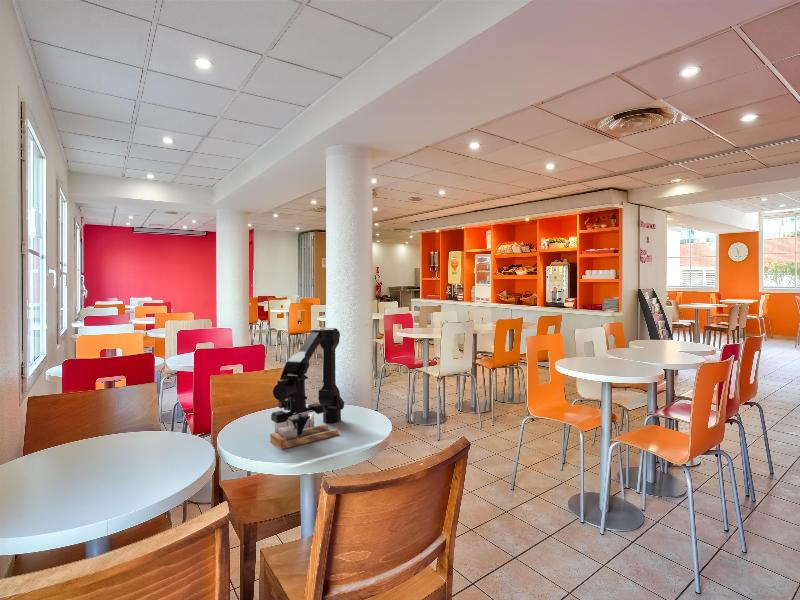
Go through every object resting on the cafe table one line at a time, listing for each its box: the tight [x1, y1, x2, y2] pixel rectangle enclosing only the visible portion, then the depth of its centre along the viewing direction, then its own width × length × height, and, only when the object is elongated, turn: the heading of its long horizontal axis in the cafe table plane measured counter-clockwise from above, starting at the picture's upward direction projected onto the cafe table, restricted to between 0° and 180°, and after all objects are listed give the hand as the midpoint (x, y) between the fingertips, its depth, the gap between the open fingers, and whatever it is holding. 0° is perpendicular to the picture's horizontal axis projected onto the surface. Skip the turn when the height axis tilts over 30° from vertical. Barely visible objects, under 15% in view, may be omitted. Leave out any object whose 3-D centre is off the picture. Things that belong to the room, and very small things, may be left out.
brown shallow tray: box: [269, 423, 341, 451], centre depth 168 cm, size 23×12×4 cm, turn 128°
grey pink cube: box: [277, 426, 298, 441], centre depth 164 cm, size 5×5×5 cm
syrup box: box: [274, 414, 315, 433], centre depth 179 cm, size 6×6×14 cm
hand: (299, 435), depth 167 cm, fingers closed
